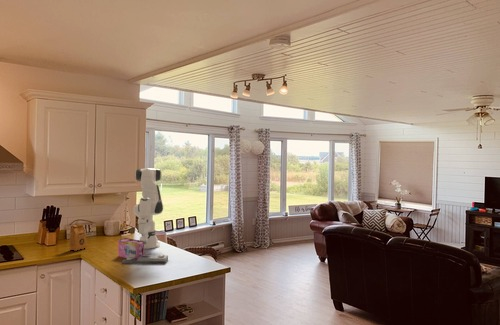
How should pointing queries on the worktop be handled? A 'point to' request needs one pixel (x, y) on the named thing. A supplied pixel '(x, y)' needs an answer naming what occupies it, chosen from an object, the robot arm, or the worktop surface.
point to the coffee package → (77, 237)
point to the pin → (145, 239)
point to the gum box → (130, 248)
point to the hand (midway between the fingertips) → (145, 237)
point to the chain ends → (147, 259)
